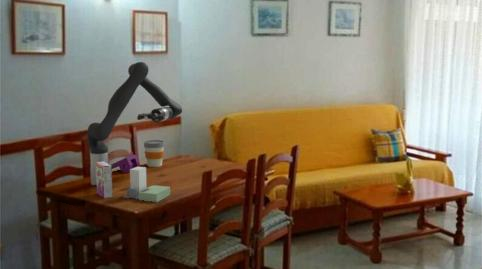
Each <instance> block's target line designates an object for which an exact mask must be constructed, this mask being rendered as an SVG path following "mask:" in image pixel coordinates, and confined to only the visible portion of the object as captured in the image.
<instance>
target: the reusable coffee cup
mask: <svg viewBox="0 0 482 269" xmlns="http://www.w3.org/2000/svg"><path fill="white" fill-rule="evenodd" d="M143 147H144V155H145V159H146V163H147V164H146V165H147V167H149V168H158V167H162V165H163V159H164V155H165V150H164V149H165V148H164V147H165V141H164V140H160V139H153V140H146V141H144V143H143Z"/></svg>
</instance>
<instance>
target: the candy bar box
mask: <svg viewBox="0 0 482 269" xmlns="http://www.w3.org/2000/svg"><path fill="white" fill-rule="evenodd" d="M95 166H96V183H97V185H96V194H97V195H99V196H100V197H101V198H103V199H104V200H105V199H111V198H113V197H114V194H113V173H112V171H113V170H112V168H111V164H109V163H108V164H107V163H106V162H96V163H95Z"/></svg>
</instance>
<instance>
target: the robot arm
mask: <svg viewBox="0 0 482 269" xmlns="http://www.w3.org/2000/svg"><path fill="white" fill-rule="evenodd" d="M127 70H128V71H127V73H128V75H129V76H128V78H127V79H126V80H125V81H124V82H122V84H121V85H120V86H119V87H118V88H117V89H116V91H115V92H114V93H113V94H112V96H111V97H110V99H109V101H108V104H107V113H106V115H105V116H104V118H103V119H102V121H101V122H92V123H91V124H89V126H88V127H87V131H86V132H87V135H86V136H87V144H88V149H89V151H90V152H89V153H90V155H89V156H90V184H91V186H92V185H93V186H97V183H96V166H95V163H96V162H106V163H107V164H109V148H108V146H107V145H106V143H104V141H106V140H107V139H108V138H109V137H110V135H111V134H112V131H113V129H114V128H115V125H116V123H117V122H118V120H119V119H120V117H121V115H122V114H123V112H124V110H125V109H126V107H127V106H128V104H129V102H130V101H131V99H132V97H133V96H134V94H135V93H136V91H137V89H138V87H139V86H141V87H142V88H143V89H144V90H145V91H146V92H147V93H148V94H149V95H150V96H151V97H152V98H153V99H154V100H155V101H156V103H157V104H159V106H160V107H158V108H154V109H152V110H151V111H150V112H146V113H144V112H143V113H139V114H138V115H137V117H136V119H137V121H142V120H144V121H152V122H154V123H160V122H164V121H166V120H173V119H175V118H176V117H178V116H179V115H181V114H182V112H183V108H182V106H181V104H179V103H177V102H176V101H175V100H174V99H172V98H170V97H169V95H168V94H167V93H166V92H165V91H164V90H163V89H162V88H160V86H158V85H157V84H155V83H154V82H153V81H152V80H150V79H149V77H148V74H149V66H148V64H147V63H146V62H143V61H138V62H136V63H132V64H131V65H129V67H128V69H127Z"/></svg>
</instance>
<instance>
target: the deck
mask: <svg viewBox="0 0 482 269" xmlns="http://www.w3.org/2000/svg"><path fill="white" fill-rule="evenodd" d="M138 193H139V197H137V190H136V189H131V186H130V185H129V186H127V187H126V194H125V195H122V197H123V199H129V198H132V199H131V200H138V199H139V200H138V201H142V200H144V202H145V201H146V202H151V201H152V202H153V203H158V202H159V201H161V200H163V199H166V198H167V197H168V196H171V186H164V185H163V186H162V185H153V184H152V185H150V186H147V188H146V189H144V190H142V191H140V192H138ZM152 202H151V203H152Z"/></svg>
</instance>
